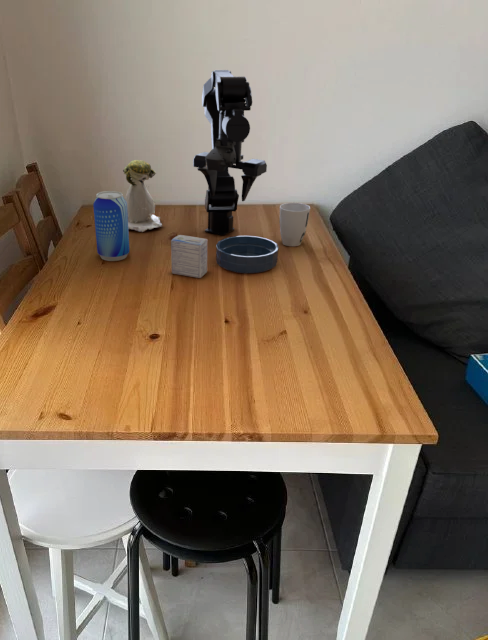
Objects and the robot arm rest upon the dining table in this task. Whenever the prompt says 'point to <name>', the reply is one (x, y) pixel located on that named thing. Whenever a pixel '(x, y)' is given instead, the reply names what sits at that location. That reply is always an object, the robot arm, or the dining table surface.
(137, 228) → the white figurine
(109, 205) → the beer can
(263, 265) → the bowl
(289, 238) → the cup
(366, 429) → the dining table surface
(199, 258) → the medicine box
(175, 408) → the dining table surface
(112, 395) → the dining table surface
